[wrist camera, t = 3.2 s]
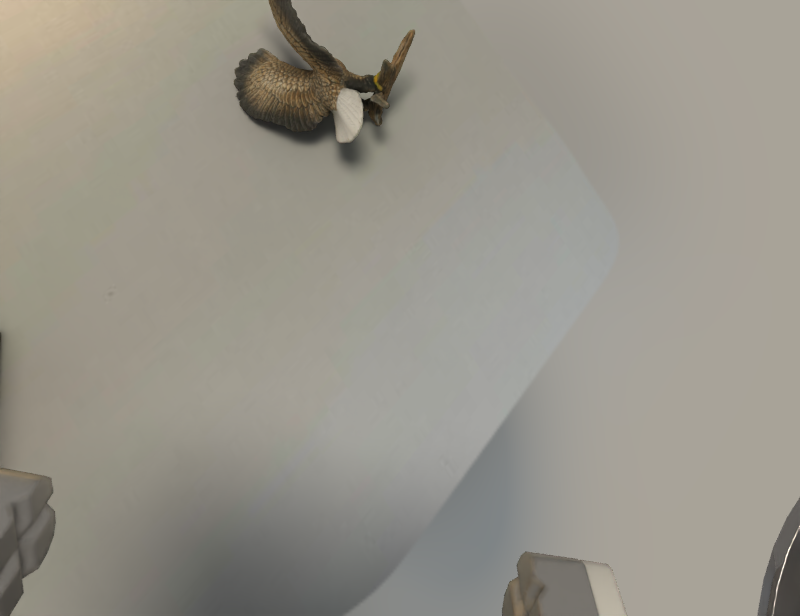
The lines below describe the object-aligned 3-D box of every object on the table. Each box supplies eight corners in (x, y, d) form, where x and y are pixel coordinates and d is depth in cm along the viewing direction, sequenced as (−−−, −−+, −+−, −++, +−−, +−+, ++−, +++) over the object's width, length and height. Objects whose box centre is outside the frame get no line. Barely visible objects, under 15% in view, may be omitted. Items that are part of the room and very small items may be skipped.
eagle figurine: (413, 27, 37) (262, -40, 35) (420, 34, 31) (236, -48, 29) (366, 151, 40) (224, 95, 38) (363, 181, 34) (193, 115, 32)
